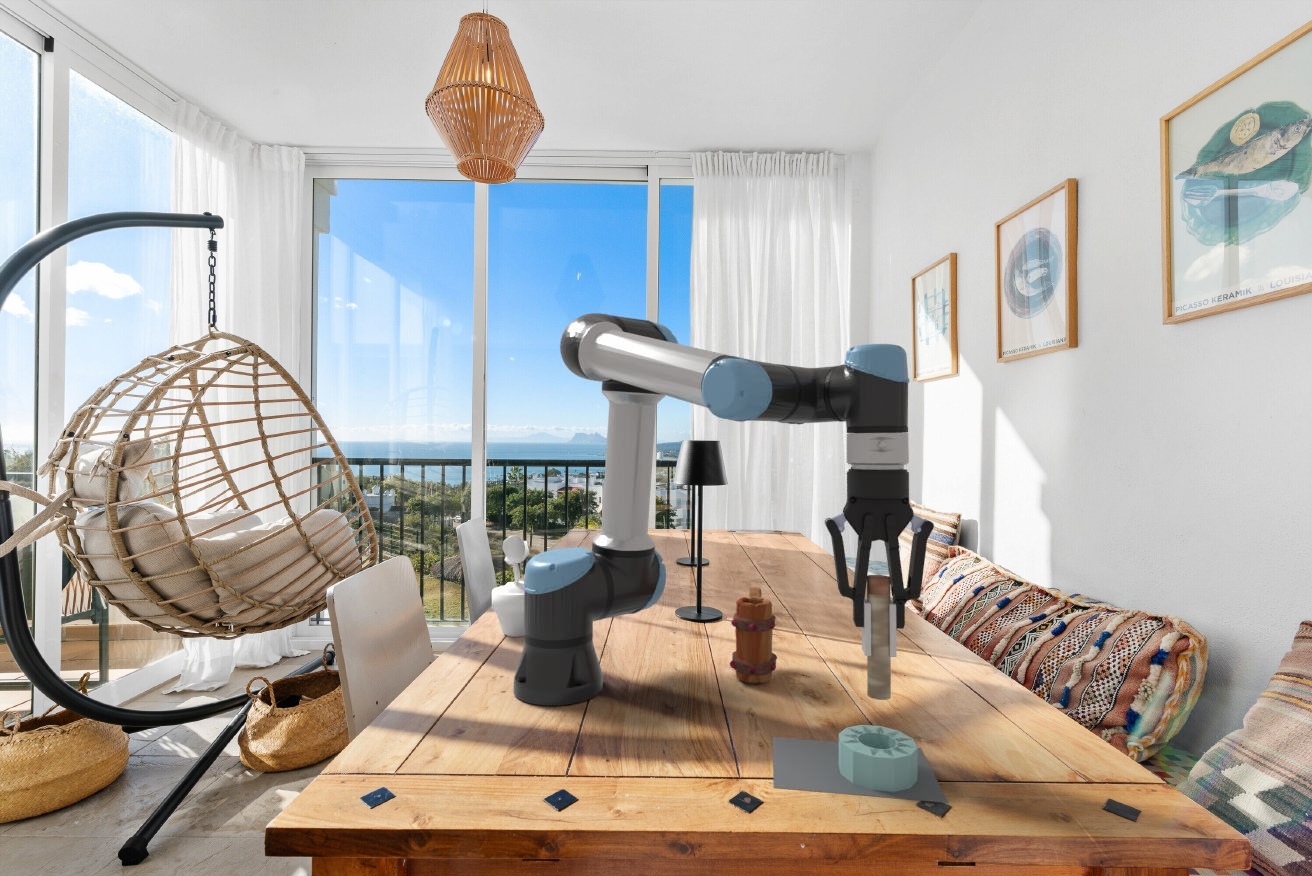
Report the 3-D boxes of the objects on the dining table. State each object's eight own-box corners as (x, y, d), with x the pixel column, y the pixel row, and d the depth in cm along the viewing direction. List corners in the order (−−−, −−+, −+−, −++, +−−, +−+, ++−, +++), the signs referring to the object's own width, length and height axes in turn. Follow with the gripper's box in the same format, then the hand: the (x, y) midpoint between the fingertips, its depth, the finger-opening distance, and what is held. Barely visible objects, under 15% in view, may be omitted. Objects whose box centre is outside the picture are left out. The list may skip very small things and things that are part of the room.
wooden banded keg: (776, 691, 113) (776, 602, 114) (728, 687, 115) (728, 600, 115) (778, 663, 128) (778, 584, 128) (735, 660, 129) (735, 582, 129)
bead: (843, 787, 80) (843, 754, 80) (835, 752, 90) (835, 723, 90) (923, 794, 79) (923, 760, 79) (907, 758, 88) (907, 727, 88)
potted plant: (534, 642, 141) (535, 524, 141) (482, 639, 142) (483, 523, 143) (553, 626, 153) (553, 517, 153) (505, 624, 155) (505, 516, 155)
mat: (773, 792, 80) (773, 787, 80) (772, 741, 94) (772, 737, 94) (948, 807, 77) (948, 802, 77) (920, 752, 91) (920, 748, 91)
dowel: (868, 699, 83) (868, 578, 83) (866, 690, 86) (865, 574, 86) (892, 700, 82) (891, 579, 83) (889, 692, 85) (888, 575, 85)
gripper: (817, 468, 82) (818, 659, 82) (949, 468, 80) (951, 665, 79) (813, 466, 89) (814, 641, 89) (933, 466, 87) (935, 647, 87)
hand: (878, 652), depth 84 cm, fingers closed on dowel, 2 cm apart
